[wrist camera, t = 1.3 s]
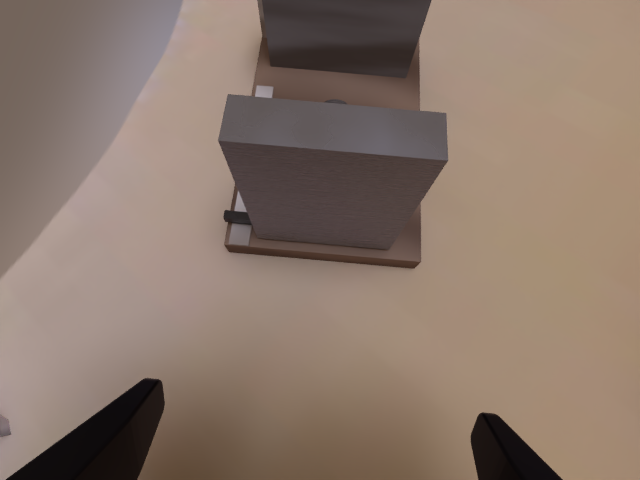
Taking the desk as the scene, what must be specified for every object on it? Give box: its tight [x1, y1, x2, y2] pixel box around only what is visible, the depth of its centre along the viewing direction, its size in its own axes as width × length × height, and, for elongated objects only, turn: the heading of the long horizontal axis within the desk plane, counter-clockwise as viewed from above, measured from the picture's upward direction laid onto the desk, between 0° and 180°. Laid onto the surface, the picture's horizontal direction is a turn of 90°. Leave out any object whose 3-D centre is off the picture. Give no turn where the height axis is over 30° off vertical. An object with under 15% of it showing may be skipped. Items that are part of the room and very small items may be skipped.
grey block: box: [218, 94, 448, 250], centre depth 18 cm, size 6×10×10 cm, turn 85°
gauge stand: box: [224, 0, 431, 268], centre depth 23 cm, size 18×12×8 cm, turn 175°
